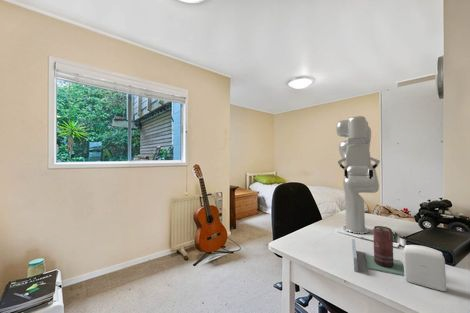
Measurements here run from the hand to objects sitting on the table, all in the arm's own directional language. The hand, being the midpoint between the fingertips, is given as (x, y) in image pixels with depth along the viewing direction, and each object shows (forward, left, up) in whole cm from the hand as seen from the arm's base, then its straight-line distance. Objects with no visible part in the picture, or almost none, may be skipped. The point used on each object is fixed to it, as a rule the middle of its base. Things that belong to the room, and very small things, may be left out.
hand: (358, 178), depth 99 cm
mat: (+16, +7, -32) cm, 37 cm away
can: (+16, +7, -32) cm, 37 cm away
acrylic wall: (+16, -3, -32) cm, 36 cm away
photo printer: (+25, +17, -33) cm, 44 cm away
